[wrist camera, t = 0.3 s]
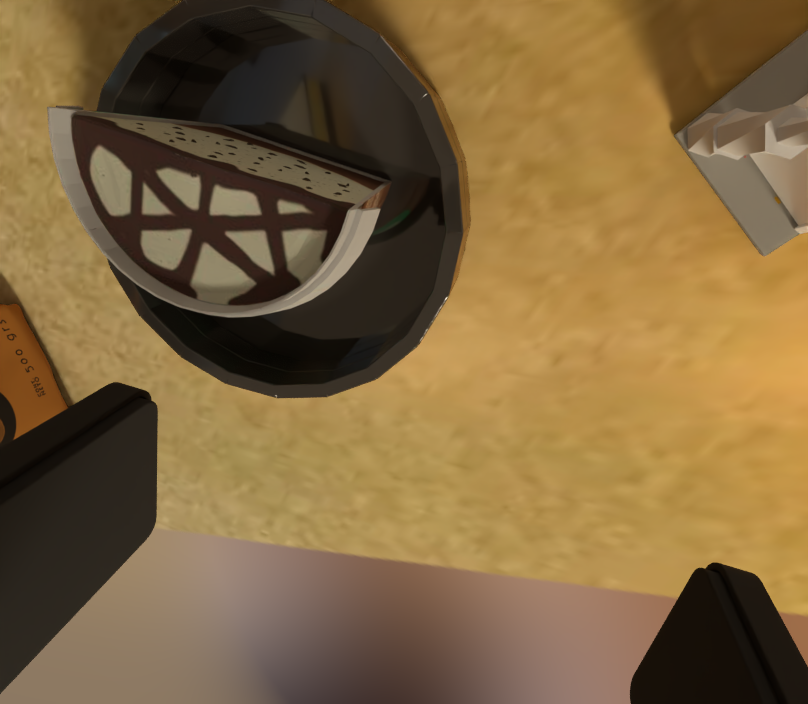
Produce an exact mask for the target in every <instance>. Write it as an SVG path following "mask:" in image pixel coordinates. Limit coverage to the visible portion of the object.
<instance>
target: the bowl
mask: <svg viewBox="0 0 808 704" xmlns="http://www.w3.org/2000/svg"><path fill="white" fill-rule="evenodd" d="M97 112H107V113H116V114H126V115H136V116H145V117H155V118H164V119H174V120H184V121H193V122H203V123H213V124H222V125H226V126H229V127H232V128H235V129H238V130H241V131H244V132H247V133H249V134H252V135H255V136H258V137H261V138H264V139H267V140H270V141H273V142H276V143H279V144H282V145H285V146H288V147H291V148H294V149H297V150H300V151H303V152H306V153H309V154H312V155H315V156H318V157H321V158H324V159H327V160H330V161H333V162H336V163H339V164H342V165H345V166H348V167H351V168H353V169H356V170H359V171H362V172H365V173H368V174H371V175H374V176H377V177H380V178H383V179H386V180H389V181H392V183H391V186H390V189H389V192H388V195H387V197H386V199H385V201H384V203H383V205H382V207H381V210H380V212H379V215H378V218H377V221H376V224H375V227H374V229H373V232H372V234H371V236H370V238H369V239H368V241H367V243H366V245H365V247H364V249H363V251H362V253H361V254H360V256H359V257H358V258H357V259H356V261H355V262H354V263H353V265H352V266H351V267H350V269H349V270H348V271H347V272H346V274H344V275H343V276H342V277H341V278H340V279H339V280H338V281H337V282H336V283H335V284H334V285H332V286H331V287H330V288H329V289H328V290H326V291H325V292H323V293H321V294H320V295H318V296H317V297H315V298H314V299H312V300H310V301H308V302H306V303H303V304H301V305H298V306H296V307H293V308H291V309H287V310H282V311H278V312H273V313H268V314H263V315H258V316H253V317H230V318H229V317H222V316H214V315H207V314H204V313H198V312H195V311H191V310H188V309H184V308H181V307H177V306H175V305H173V304H171V303H169V302H166V301H164V300H162V299H160V298H157V297H156V296H154V295H153V294H151V293H149V292H148V291H146V290H145V289H143V288H141V287H140V286H138V285H137V284H136V283H134V282H133V281H132V280H131V279H129V278H128V277H127V276H126V275H125V274H123V273H122V272H121V271H120V270H118V269H117V267H116V266H115V265H114V264H113V263H112V262H111V261H110V260H109V259H108V258H107V260H108V263H109V265H110V268H111V270H112V272H113V273H114V275H115V277H116V278H117V280H118V281H119V283H120V285H121V286H122V288H123V290H124V291H125V293H126V295H127V296H128V298H129V299H130V301H131V303H132V304H133V306H134V308H135V309H136V311H137V313H138V314H139V316H141V318H142V319H143V320H144V321H145V322H146V323H147V324H148V325H149V326H150V327H151V328H152V329H153V330H154V331H155V332H156V333H157V334H158V335H159V336H160V337H161V338H162V339H163V340H164V341H165V342H166V343H167V344H168V345H169V346H170V347H171V348H172V349H173V350H174V351H175V352H176V353H177V354H178V355H180V356H181V357H182V358H183V359H185V360H187V361H188V362H190V363H192V364H193V365H195V366H197V367H198V368H200V369H202V370H203V371H205V372H207V373H209V374H210V375H212V376H214V377H215V378H217V379H219V380H220V381H222V382H224V383H225V384H228V385H232V386H235V387H239V388H243V389H246V390H250V391H253V392H257V393H261V394H264V395H268V396H271V397H275V398H276V397H277V398H310V397H328V396H332V395H334V394H337V393H340V392H343V391H346V390H348V389H351V388H354V387H357V386H360V385H362V384H365V383H368V382H371V381H374V380H376V379H378V378H379V377H380V376H382V375H383V374H384V373H385V372H387V371H388V370H389V369H390V368H392V367H393V366H394V365H395V364H397V363H398V362H399V361H400V360H401V359H403V358H404V357H405V356H406V355H408V354H409V353H410V352H411V351H413V350H414V349H415V348H416V347H417V346H418V345H419V344H420V342H421V341H422V339H423V338H424V336H425V334H426V333H427V331H428V330H429V328H430V326H431V325H432V323H433V321H434V320H435V318H436V317H437V315H438V313H439V312H440V310H441V308H442V307H443V305H444V304H445V302H446V300H447V299H448V297H449V295H450V293H451V291H452V289H453V287H454V285H455V283H456V281H457V278H458V275H459V271H460V266H461V262H462V258H463V254H464V251H465V246H466V241H467V237H468V232H469V228H470V222H471V217H470V198H469V187H468V176H467V166H466V161H465V157H464V154H463V152H462V149H461V146H460V144H459V141H458V138H457V135H456V132H455V130H454V127H453V124H452V122H451V121H450V119H449V117H448V114H447V112H446V109H445V107H444V104H443V102H442V100H441V98H440V97H439V96H438V94H437V93H436V92H435V91H434V90H433V88H432V87H431V86H430V85H429V83H428V82H427V81H426V79H425V78H424V77H423V76H422V75H421V74H420V72H419V71H418V70H417V69H416V68H415V67H414V65H413V64H412V63H411V62H410V61H409V59H408V58H407V57H406V56H405V55H404V53H403V52H402V51H401V50H400V49H399V48H398V47H397V46H395V45H394V44H393V43H391V42H390V41H389V40H388V39H386V38H385V37H384V36H382V35H381V34H380V33H378V32H377V31H375V30H373V29H372V28H370V27H368V26H367V25H365V24H363V23H362V22H360V21H358V20H357V19H355V18H353V17H352V16H350V15H348V14H347V13H345V12H344V11H342V10H340V9H339V8H337V7H335V6H334V5H332V4H330V3H329V2H327V1H325V0H182V1H181V2H180V3H178V4H177V5H176V6H174V7H173V8H171V9H170V10H169V11H167V12H166V13H165V14H163V15H162V16H161V17H159V18H158V19H157V20H155V21H154V22H152V23H151V24H150V25H148V26H147V27H146V28H144V29H143V30H142V31H140V32H139V33H137V34H136V36H135V37H134V38H133V40H132V41H131V43H130V44H129V46H128V47H127V49H126V51H125V52H124V54H123V55H122V57H121V59H120V60H119V62H118V63H117V65H116V67H115V68H114V70H113V71H112V73H111V75H110V76H109V78H108V79H107V81H106V83H105V84H104V86H103V88H102V90H101V94H100V98H99V103H98V107H97Z"/></svg>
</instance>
